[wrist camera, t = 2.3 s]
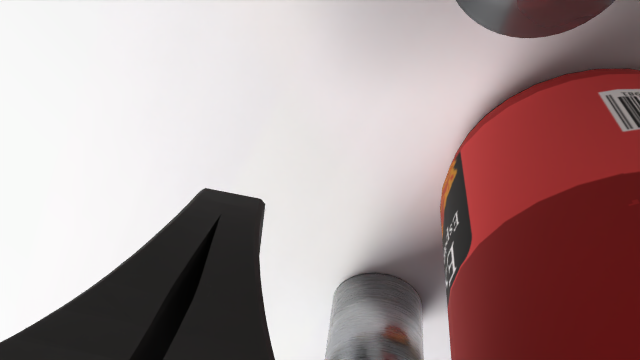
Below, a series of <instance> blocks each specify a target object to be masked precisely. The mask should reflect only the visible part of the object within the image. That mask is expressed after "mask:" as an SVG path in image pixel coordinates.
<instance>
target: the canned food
mask: <svg viewBox="0 0 640 360" xmlns="http://www.w3.org/2000/svg"><path fill="white" fill-rule="evenodd" d="M440 212H441V226H442V239H443V252H444V266H445V279H446V292H447V306H448V319H449V333H450V346H451V359H452V360H640V70H634V69H594V70H588V71H582V72H577V73H571V74H565V75H562V76H559V77H556V78H553V79H550V80H547V81H545V82H542V83H539V84H536V85H534V86H532V87H530V88H528V89H526V90H524V91H522V92H520V93H518V94H516V95H514V96H512V97H510V98H509V99H507V100H506V101H505V102H503V103H502V104H501V105H499V106H498V107H496V108H495V109H494V110H492V111H491V112H490V113H488V114H487V115H486V116H485V117H484V118H483V119H482V120H481V121H480V122H479V123H478V124H477V125H476V126H475V127H474V128H473V129H472V131H471V132H470V133H469V134H468V135H467V137H466V138H465V140H464V142H463V143H462V145H461V146H460V148H459V149H458V151H457V153H456V155H455V157H454V159H453V161H452V164H451V166H450V168H449V171H448V174H447V177H446V179H445V182H444V185H443V188H442V196H441V206H440Z"/></svg>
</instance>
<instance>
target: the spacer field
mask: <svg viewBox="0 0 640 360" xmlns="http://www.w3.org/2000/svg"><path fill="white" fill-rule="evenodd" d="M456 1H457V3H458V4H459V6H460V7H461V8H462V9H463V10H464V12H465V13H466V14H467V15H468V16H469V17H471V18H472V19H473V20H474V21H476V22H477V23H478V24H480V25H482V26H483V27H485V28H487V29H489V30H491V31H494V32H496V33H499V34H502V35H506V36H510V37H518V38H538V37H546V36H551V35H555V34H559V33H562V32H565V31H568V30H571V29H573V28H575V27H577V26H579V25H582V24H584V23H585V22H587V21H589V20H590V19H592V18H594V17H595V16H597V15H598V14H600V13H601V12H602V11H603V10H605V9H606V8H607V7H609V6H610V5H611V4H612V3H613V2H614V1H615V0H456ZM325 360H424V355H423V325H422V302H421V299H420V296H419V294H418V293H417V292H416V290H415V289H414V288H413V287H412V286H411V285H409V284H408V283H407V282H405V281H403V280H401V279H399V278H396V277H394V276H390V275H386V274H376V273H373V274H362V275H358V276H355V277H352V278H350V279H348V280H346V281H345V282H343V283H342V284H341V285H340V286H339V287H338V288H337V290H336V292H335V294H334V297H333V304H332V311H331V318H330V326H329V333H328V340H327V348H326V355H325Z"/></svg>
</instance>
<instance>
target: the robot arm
mask: <svg viewBox="0 0 640 360" xmlns="http://www.w3.org/2000/svg"><path fill="white" fill-rule="evenodd" d="M264 210H265V203H264V202H263V201H262V200H261V199H258V198H253V197H248V196H243V195H238V194H233V193H227V192H222V191H217V190H212V189H207V188H205V189H203V190H202V191H200V192H199V193H198V194H197V195H196V196H195V197H194V198H193V199H192V200H191V201H190V203H189V204H188V205H187V206H186V207H185V208H184V209H183V210H182V211H181V212H180V213H179V214H178V215H177V216H176V217H175V218H173V219H172V220H171V221H170V222H169V223H168V224H167V225H166V226H165V227H164V228H163V229H162V230H161V231H160V232H158V233H157V234H156V235H155V236H154V237H153V238H152V239H151V240H150V241H148V242H147V243H146V244H145V245H144V246H143V247H142V248H140V249H139V250H138V251H137V252H136V253H135V254H133V255H132V256H131V257H130V258H128V259H127V260H126V261H125V262H123V263H122V264H121V265H120V266H118V267H117V268H116V269H115V270H113V271H112V272H111V273H110V274H108V275H107V276H106V277H104V278H103V279H102V280H100V281H99V282H97V283H96V284H95V285H93V286H92V287H91V288H89V289H88V290H86V291H85V292H83V293H82V294H80V295H79V296H77V297H76V298H74V299H73V300H72V301H70V302H69V303H67V304H65V305H64V306H62V307H61V308H59V309H57V310H56V311H54V312H53V313H51V314H49V315H48V316H46V317H44V318H43V319H41V320H40V321H38V322H36V323H35V324H33V325H31V326H30V327H28V328H26V329H24V330H23V331H21V332H19V333H17V334H16V335H14V336H12V337H10V338H8V339H6V340H4V341H2V342H0V360H275V358H274V354H273V350H272V346H271V341H270V337H269V332H268V327H267V322H266V316H265V310H264V303H263V296H262V288H261V278H260V262H259V253H260V244H261V236H262V227H263V219H264Z"/></svg>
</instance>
